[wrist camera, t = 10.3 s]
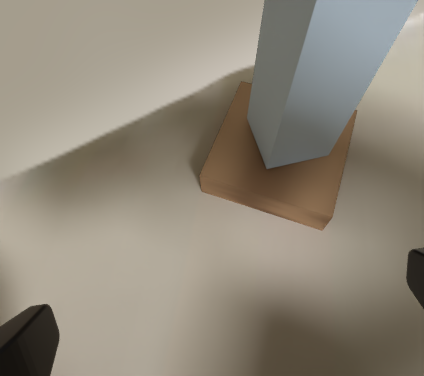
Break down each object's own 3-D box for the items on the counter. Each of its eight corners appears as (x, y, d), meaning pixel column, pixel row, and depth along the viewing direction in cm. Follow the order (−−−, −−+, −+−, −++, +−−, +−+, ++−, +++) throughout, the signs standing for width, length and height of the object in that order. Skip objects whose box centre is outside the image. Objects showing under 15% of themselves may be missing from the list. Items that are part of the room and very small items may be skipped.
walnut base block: (344, 134, 27) (357, 110, 25) (320, 233, 24) (332, 217, 21) (239, 106, 29) (241, 81, 26) (202, 194, 25) (199, 175, 23)
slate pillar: (328, 155, 23) (431, -24, 12) (266, 169, 22) (318, -5, 12) (304, 106, 25) (374, -84, 14) (246, 117, 24) (275, -71, 14)
